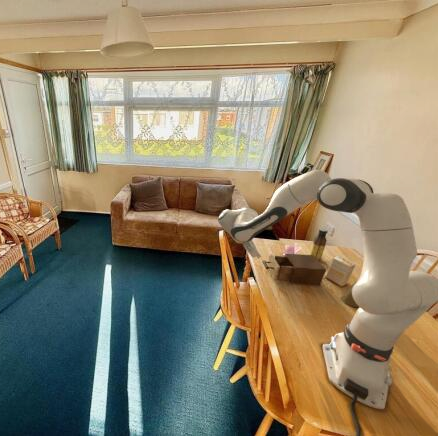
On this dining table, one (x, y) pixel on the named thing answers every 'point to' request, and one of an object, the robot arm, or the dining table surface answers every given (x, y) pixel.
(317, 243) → the sauce bottle
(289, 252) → the lily
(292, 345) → the dining table surface
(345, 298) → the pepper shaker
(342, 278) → the supplement box
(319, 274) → the cabinet
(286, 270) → the drawer
